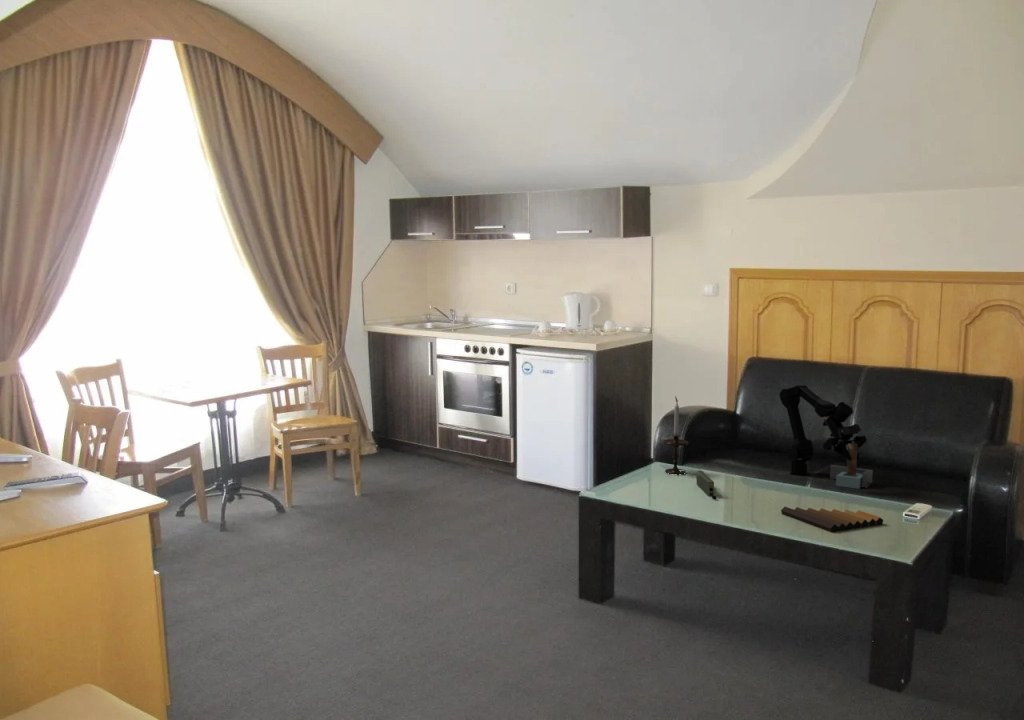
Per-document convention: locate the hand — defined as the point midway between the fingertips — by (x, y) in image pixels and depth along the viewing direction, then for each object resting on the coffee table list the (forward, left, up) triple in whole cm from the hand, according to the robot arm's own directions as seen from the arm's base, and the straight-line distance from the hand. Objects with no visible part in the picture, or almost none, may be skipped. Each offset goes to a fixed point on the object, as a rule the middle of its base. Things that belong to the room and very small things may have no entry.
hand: (854, 459), depth 356 cm
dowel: (-1, +1, -7) cm, 7 cm away
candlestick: (-74, -12, -14) cm, 76 cm away
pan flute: (+4, -46, -14) cm, 48 cm away
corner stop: (-6, +15, -13) cm, 21 cm away
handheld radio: (-49, -36, -14) cm, 62 cm away
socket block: (-4, +12, -14) cm, 19 cm away
